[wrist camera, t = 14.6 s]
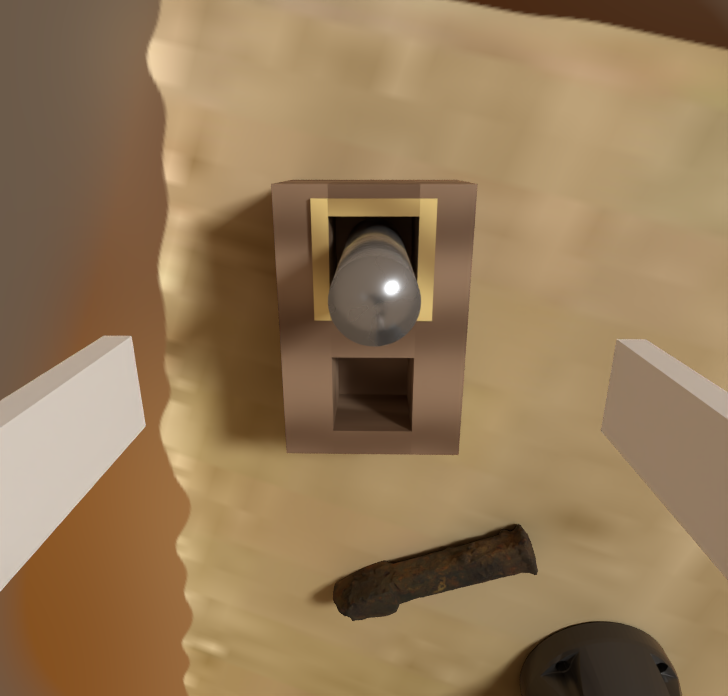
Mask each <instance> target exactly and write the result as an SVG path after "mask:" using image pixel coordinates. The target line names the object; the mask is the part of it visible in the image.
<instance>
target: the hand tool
mask: <svg viewBox="0 0 728 696" xmlns="http://www.w3.org/2000/svg"><path fill="white" fill-rule="evenodd" d="M537 572H538V570H537V565H536V558H535V554H534V551H533V548H532V544H531V541H530V539H529V537H528V534H527V533H526V532H525V531H524V529H523V528H522V527H521V525H519V524H518V525H517V526H516V528H515V529H514V530H513V531H511V532H510V531H508V530H504V529H502V530H501V532H500V534H499V535H496V536H494V537H490V538H486V539H482V540H478V541H476V542H473V543H469V544H466V545H462V546H458V547H454V548H451V547H447V548H446V549H445V550H443V551H438V552H434V553H430V554H428V555H424V556H420V557H416V558H413V559H409V560H405V561H401V562H398V563H394V564H393V563H390V562H389V561H385V560H384V561H381V562H377V563H374V564H372V565H369V566H367V567H365V568H363V569H361V570H358V571H356V572H355V573H353V574H351V575H349V576H347V577H346V578H344V579H343V580H341V581H339V582H338V583H336V584H335V586H334V591H333V601H334V603H335V604H336V606H337V609H338V611H339V612H340V613H341V614H343V615H344V616H348V617H350V618H351V619H352V621H355V620H363V619H366V618H370V617H382V616H387V615H390V614H393V613H395V612H396V611H397V609H398V607H399V604H401V603H404V602H407V601H410V600H413V599H416V598H419V597H425V596H430V595H434V594H438V593H442V592H445V591H449V590H454V589H457V588H461V587H462V588H463V587H466V586H470V585H474V584H478V583H483V582H486V581H489V580H494V579H498V578H502V577H506V576H511V575H515V574H519V573H531V574H534V575H537Z"/></svg>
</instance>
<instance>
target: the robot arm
mask: <svg viewBox="0 0 728 696" xmlns="http://www.w3.org/2000/svg"><path fill="white" fill-rule="evenodd" d="M145 426H146V425H145V418H144V412H143V406H142V399H141V393H140V387H139V381H138V374H137V368H136V362H135V355H134V349H133V343H132V336H103V337H101V338H99V339H98V340H97V341H95V342H93V343H92V344H90V345H88V346H87V347H85V348H84V349H82V350H80V351H79V352H77V353H76V354H74V355H72V356H71V357H69V358H68V359H66V360H65V361H63V362H61V363H60V364H58V365H57V366H55V367H53V368H52V369H50V370H49V371H47V372H46V373H44V374H43V375H41V376H39V377H37V378H36V379H34V380H33V381H31V382H30V383H28V384H26V385H25V386H23V387H22V388H20V389H18V390H17V391H15V392H14V393H12V394H10V395H9V396H7V397H6V398H4V399H2V400H1V401H0V591H1V590H2V589H3V588H4V587H5V585H6V584H7V583H8V582H9V581H10V580H11V579H12V577H13V576H14V575H15V574H16V573H17V572H18V571H19V570H20V568H21V567H22V566H23V565H24V564H25V563H26V562H27V560H28V559H29V558H30V557H31V556H32V555H33V554H34V552H35V551H36V550H37V549H38V548H39V547H40V546H41V544H42V543H43V542H44V541H45V540H46V539H47V538H48V537H49V535H50V534H51V533H52V532H53V531H54V530H55V529H56V527H57V526H58V525H59V524H60V523H61V522H62V521H63V520H64V518H65V517H66V516H67V515H68V514H69V513H70V511H71V510H72V509H73V508H74V507H75V506H76V505H77V504H78V502H79V501H80V500H81V499H82V498H83V497H84V496H85V494H86V493H87V492H88V491H89V490H90V489H91V488H92V487H93V485H94V484H95V483H96V482H97V481H98V480H99V478H100V477H101V476H102V475H103V474H104V473H105V472H106V471H107V469H108V468H109V467H110V466H111V465H112V464H113V463H114V462H115V460H116V459H117V458H118V457H119V456H120V455H121V454H122V452H123V451H124V450H125V449H126V448H127V446H129V444H130V443H131V442H132V441H133V440H134V439H135V438H136V437H137V435H138V434H139V433H140V432H141V431H142V430H143V429H144V427H145ZM601 431H602V432H603V434H604V435H605V436H606V437H607V438H608V439H609V441H610V442H611V443H612V444H613V445H614V447H615V448H616V449H617V450H618V451H619V452H620V454H621V455H622V456H623V457H624V458H625V460H626V461H627V462H628V463H629V464H630V465H631V467H632V468H633V469H634V470H635V471H636V472H637V474H638V475H639V476H640V477H641V478H642V480H643V481H644V482H645V483H646V484H647V485H648V487H649V488H650V489H651V490H652V491H653V493H654V494H655V495H656V496H657V497H658V498H659V500H660V501H661V502H662V503H663V504H664V505H665V507H666V508H667V509H668V510H669V511H670V513H671V514H672V515H673V516H674V517H675V518H676V520H677V521H678V522H679V523H680V524H681V526H682V527H683V528H684V529H685V530H686V531H687V533H688V534H689V535H690V536H691V537H692V538H693V540H694V541H695V542H696V543H697V544H698V546H699V547H700V548H701V549H702V550H703V551H704V553H705V554H706V555H707V556H708V557H709V559H710V560H711V561H712V562H713V563H714V564H715V566H716V567H717V568H718V569H719V570H720V571H721V573H722V574H723V575H724V576H725V577H726V579H727V580H728V392H726V391H725V390H723V389H722V388H720V387H719V386H717V385H716V384H714V383H712V382H711V381H709V380H708V379H706V378H705V377H703V376H702V375H700V374H699V373H697V372H695V371H694V370H692V369H691V368H689V367H688V366H686V365H685V364H683V363H682V362H680V361H678V360H677V359H675V358H674V357H672V356H671V355H669V354H668V353H666V352H664V351H663V350H661V349H660V348H658V347H657V346H655V345H654V344H652V343H651V342H649V341H647V340H646V339H617V341H616V346H615V352H614V358H613V364H612V370H611V375H610V381H609V387H608V393H607V399H606V404H605V410H604V416H603V422H602V428H601ZM520 689H521V693H522V696H682V692H681V688H680V683H679V679H678V676H677V674H676V671H675V669H674V667H673V665H672V664H671V662H670V660H669V659H668V657H667V655H666V654H665V652H664V650H663V648H662V647H661V646H660V644H659V643H658V642H657V641H656V640H655V639H654V638H652V637H651V636H650V635H648V634H647V633H645V632H643V631H642V630H639V629H637V628H635V627H632V626H628V625H624V624H619V623H612V622H595V623H586V624H581V625H577V626H573V627H570V628H567V629H564V630H562V631H560V632H558V633H556V634H554V635H552V636H550V637H549V638H547V639H546V640H544V641H543V642H542V643H540V644H539V645H538V646H537V647H536V648H535V649H534V650H533V651H532V652H531V653H530V655H529V656H528V658H527V659H526V661H525V663H524V665H523V667H522V670H521V674H520Z"/></svg>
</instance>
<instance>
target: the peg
mask: <svg viewBox="0 0 728 696" xmlns="http://www.w3.org/2000/svg"><path fill="white" fill-rule="evenodd" d="M328 309H329V313H330V316H331V319H332V321H333V323H334V325H335V326H336V327H337V329H338V330H339V331H340V332H341V333H342V334H343V335H344V336H345V337H346V338H348V339H350V340H351V341H353V342H355V343H358V344H361V345H365V346H373V347H375V346H384V345H388V344H391V343H393V342H396V341H398V340H399V339H401V338H402V337H404V336H405V335H406V334H407V333H408V332H409V331H410V330H411V329H412V327H413V326H414V324H415V323H416V321H417V319H418V316H419V313H420V309H421V294H420V289H419V286H418V283H417V280H416V278H415V275H414V272H413V269H412V266H411V263H410V261H409V258H408V255H407V252H406V249H405V246H404V244H403V241H402V238H401V235H400V233H399V231H398V230H397V228H396V227H395V226H394V225H393V224H392V223H390V222H389V221H387V220H384V219H381V218H369V219H366V220H363V221H361V222H360V223H358V224H357V225H356V226H355V227H354V228H353V229H352V231H351V232H350V234H349V237H348V240H347V242H346V245H345V248H344V251H343V253H342V256H341V259H340V262H339V264H338V267H337V270H336V273H335V275H334V278H333V281H332V283H331V286H330V289H329V294H328Z"/></svg>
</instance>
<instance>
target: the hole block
mask: <svg viewBox="0 0 728 696" xmlns="http://www.w3.org/2000/svg"><path fill="white" fill-rule="evenodd" d="M271 189H272V207H273V224H274V241H275V258H276V276H277V293H278V310H279V327H280V344H281V362H282V379H283V396H284V413H285V431H286V448H287V453H325V454H419V455H458V454H459V439H460V425H461V411H462V397H463V382H464V368H465V354H466V340H467V325H468V311H469V297H470V283H471V268H472V254H473V240H474V226H475V211H476V197H477V184H474V183H469V182H464V181H459V180H290V181H284V182H279V183H274V184H271ZM369 218H381V219H384V220H387V221H389V222H390V223H392V224H393V225H394V226H395V227H396V228H397V230H398V231H399V233H400V235H401V238H402V241H403V244H404V246H405V249H406V252H407V255H408V258H409V261H410V263H411V266H412V269H413V272H414V275H415V278H416V280H417V283H418V286H419V289H420V294H421V309H420V313H419V316H418V319H417V321H416V323H415V324H414V326H413V327H412V329H411V330H410V331H409V332H408V333H407V334H406V335H405V336H404V337H402V338H401V339H399V340H398V341H396V342H393V343H391V344H388V345H384V346H375V347H373V346H365V345H361V344H358V343H355V342H353V341H351V340H350V339H348V338H346V337H345V336H344V335H343V334H342V333H341V332H340V331H339V330H338V329H337V327H336V326H335V325H334V323H333V321H332V319H331V316H330V313H329V309H328V294H329V289H330V286H331V283H332V281H333V278H334V275H335V273H336V270H337V267H338V264H339V262H340V259H341V256H342V253H343V251H344V248H345V245H346V242H347V240H348V237H349V234H350V232H351V231H352V229H353V228H354V227H355V226H356V225H357V224H358V223H360V222H361V221H363V220H366V219H369Z"/></svg>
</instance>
